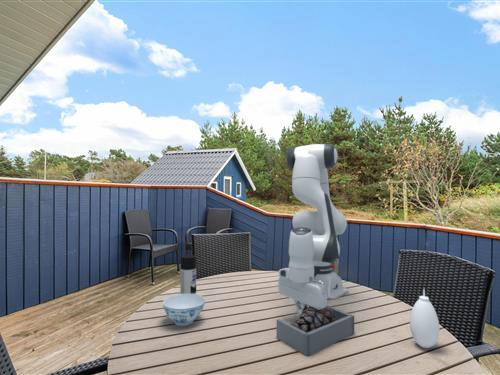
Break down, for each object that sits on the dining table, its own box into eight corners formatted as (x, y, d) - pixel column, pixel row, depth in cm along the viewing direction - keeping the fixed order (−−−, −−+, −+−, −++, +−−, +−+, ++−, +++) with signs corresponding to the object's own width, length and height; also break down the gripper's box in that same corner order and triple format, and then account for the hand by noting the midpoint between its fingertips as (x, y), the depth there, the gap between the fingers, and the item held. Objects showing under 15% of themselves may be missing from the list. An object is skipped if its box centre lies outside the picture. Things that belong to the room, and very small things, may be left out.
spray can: (192, 306, 121) (193, 258, 121) (177, 305, 122) (177, 257, 123) (198, 300, 128) (198, 255, 128) (184, 299, 129) (184, 254, 129)
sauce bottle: (444, 354, 86) (443, 293, 86) (415, 352, 87) (415, 291, 88) (432, 341, 94) (432, 285, 94) (406, 339, 95) (406, 283, 95)
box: (323, 319, 109) (323, 303, 109) (354, 333, 99) (354, 315, 99) (276, 338, 95) (276, 319, 95) (307, 356, 85) (307, 335, 85)
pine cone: (285, 342, 92) (285, 311, 92) (312, 323, 106) (312, 296, 106) (315, 354, 85) (315, 320, 86) (340, 332, 99) (340, 303, 99)
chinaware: (181, 310, 117) (181, 291, 117) (212, 318, 110) (212, 297, 110) (153, 325, 103) (153, 303, 103) (187, 335, 97) (187, 311, 97)
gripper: (331, 279, 96) (331, 322, 96) (287, 266, 113) (287, 302, 112) (318, 283, 92) (318, 327, 92) (275, 269, 109) (275, 306, 109)
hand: (301, 313), depth 102 cm, fingers closed
